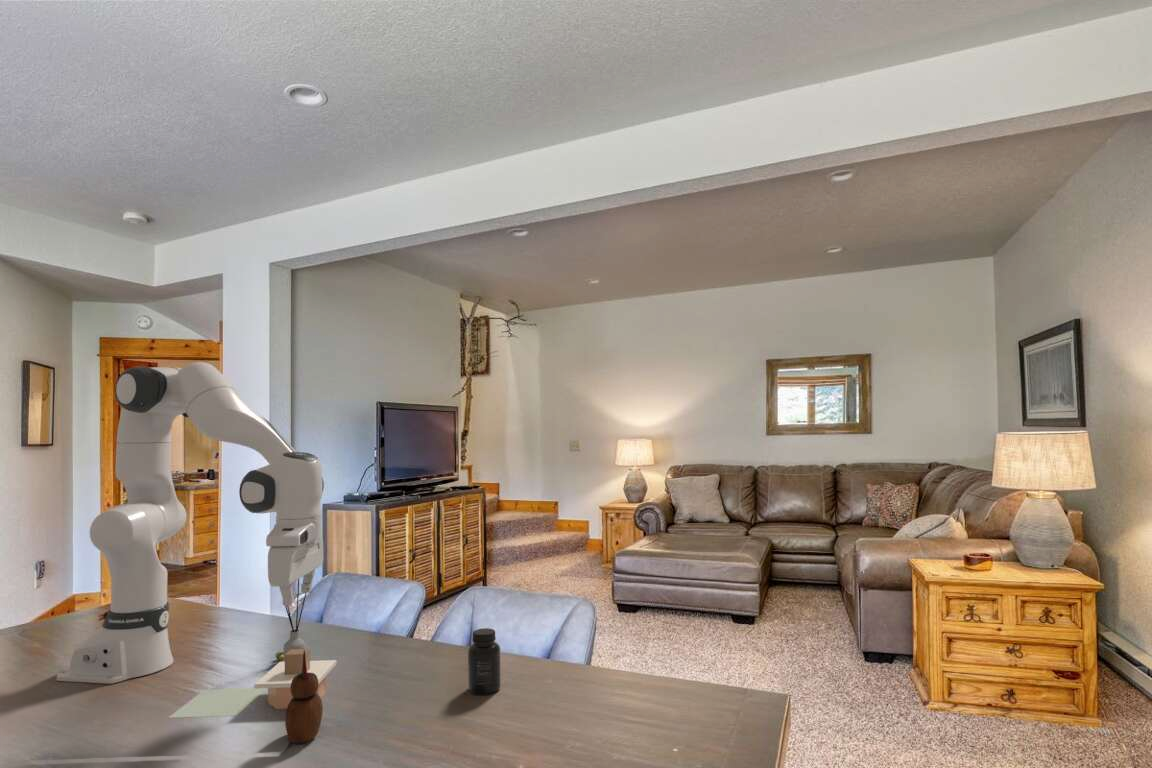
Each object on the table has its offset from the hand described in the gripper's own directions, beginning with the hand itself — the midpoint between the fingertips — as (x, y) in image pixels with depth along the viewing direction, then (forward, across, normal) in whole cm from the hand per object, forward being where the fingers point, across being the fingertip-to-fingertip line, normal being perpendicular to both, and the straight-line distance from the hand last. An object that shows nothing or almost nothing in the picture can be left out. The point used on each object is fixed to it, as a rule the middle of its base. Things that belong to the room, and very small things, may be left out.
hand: (297, 598), depth 133 cm
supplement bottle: (+21, -3, +38) cm, 44 cm away
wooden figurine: (+21, +16, +8) cm, 28 cm away
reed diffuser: (+21, -21, -10) cm, 31 cm away
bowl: (+21, 0, 0) cm, 21 cm away
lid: (+16, 0, 0) cm, 16 cm away
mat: (+21, +1, -15) cm, 26 cm away
